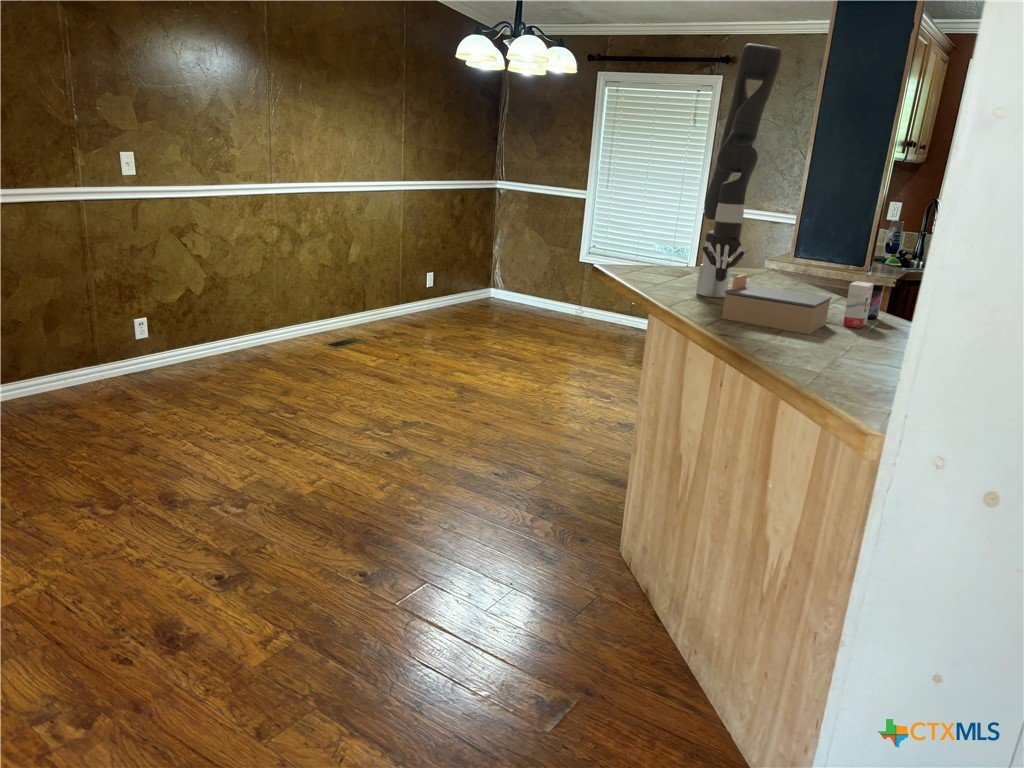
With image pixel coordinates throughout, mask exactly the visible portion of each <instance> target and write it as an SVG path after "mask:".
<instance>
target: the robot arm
mask: <svg viewBox="0 0 1024 768" xmlns="http://www.w3.org/2000/svg"><path fill="white" fill-rule="evenodd" d="M781 61H782V50H781V48H780V47H777V46H774V45H773V46H771V45H766V44H765V45H764V44H758V43H747V44H745V45H744V47H743V49H742V50H741V54H740V58H739V62H738V67H737V72H736V77H735V83H734V89H733V93H732V94H733V95H732V98H731V103H730V108H729V112H728V115H727V118H726V122H725V124H724V125H725V126H724V129H723V133H722V137H721V141H720V147H719V151H718V154H717V157H716V164H715V169H714V172H713V174H712V178H711V181H710V183H709V187H708V190H707V193H706V197H705V200H704V205H703V213H704V217H705V218H706V219H707V220H710V221H714V225H713V230H709V231H707V232H706V234H705V241H704V246H703V247H702V251H703V257H702V264H700V265H699V267H698V276H697V284H696V293H695V294H696V295H701V296H704V297H709V298H725V294H727V293H725V291H726V290H729V286H730V279H731V272H732V268H733V267H735V266H736V265H738V263H740V261H741V260H742V259H743V258H744V257H745V256H746V255H747V254H748V250H744V249H743V248H742V247H741V241H740V240H741V235H742V228H743V227H742V226H743V221H744V213H745V202H746V201H745V200H746V194H747V188H748V185H749V182H750V179H751V177H752V174H753V172H754V170H755V168H756V165H757V162H758V160H759V158H758V157H759V155H758V151H757V149H756V148H755V147H753V144H754V143H755V141H756V138H757V135H758V132H759V127H760V123H761V119H762V116H763V112H764V110H765V107H766V104H767V102H768V101H769V100H768V99H769V97H770V95H771V92H772V90H773V87H774V84H775V82H776V78H777V76H778V72H779V70H780V66H781ZM748 80H753V81H759V82H762V83H761V84H760V86H759V87H758V88H757V89H756V90H755V92H753V93H752V94H751V95H750V96H749V97H748V91H747V81H748ZM733 173H736V174H737V173H738V174H740V176H739V177H738V178H737V179H735V180H729V179H730V177H731V176H732V175H733ZM735 253H736V256H735V257H734V254H735Z"/></svg>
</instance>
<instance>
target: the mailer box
mask: <svg viewBox="0 0 1024 768" xmlns="http://www.w3.org/2000/svg"><path fill="white" fill-rule="evenodd" d="M830 304H831V300H829V301H827V302H825V303H823V304H821V305H819V306H817V307H809V306H803V305H797V304H791V303H784V302H778V301H772V300H765V299H759V298H753V297H747V296H740V295H734V294H728V293H727V294H725V297H724V301H723V308H722V315H721V319H722V320H727V319H728V320H729V321H732V320H733V322H738V321H739V322H738V323H743V324H749V325H754V324H755V325H756V326H761V327H765V328H766V327H767V328H773V329H777V330H781V331H782V330H783V331H789V332H793V333H799V334H806V335H811V334H812V333H814V332H816V331H817V330H819V329H821V328H823V327H824V326H826V324H827V318H828V314H829V309H830Z"/></svg>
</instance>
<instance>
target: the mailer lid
mask: <svg viewBox="0 0 1024 768" xmlns="http://www.w3.org/2000/svg"><path fill="white" fill-rule="evenodd" d="M747 277H748V274H745V273H743V274H740V275H736V276H733V279H732V286H731V288H728V290H726V291H725V293H728V294H734V295H740V296H747V297H753V298H759V299H765V300H772V301H778V302H784V303H791V304H797V305H803V306H809V307H817V306H819V305H821V304H823V303H825V302H827V301H829V300H830V301H831V300H832V296H826V295H820V294H814V293H813V294H812V293H805V292H801V291H792V290H787V289H786V290H785V289H780V288H775V287H774V288H773V287H768V286H760V285H754V284H747Z"/></svg>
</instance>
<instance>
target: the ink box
mask: <svg viewBox="0 0 1024 768" xmlns="http://www.w3.org/2000/svg"><path fill="white" fill-rule="evenodd" d="M873 285H874V283H867V282H860V281H854V282H851V283H850V284H849V285H848V292H847V293H848V294H847V299H846V305H845V311H844V315H843V316H844V317H843V323H842V326H843V327H850V328H858V329H861V328H862V327H864V326H865V325H866V324H867V323H868V320H867V318H868V312H869V307H870V301H871V296H872V291H873Z"/></svg>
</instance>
